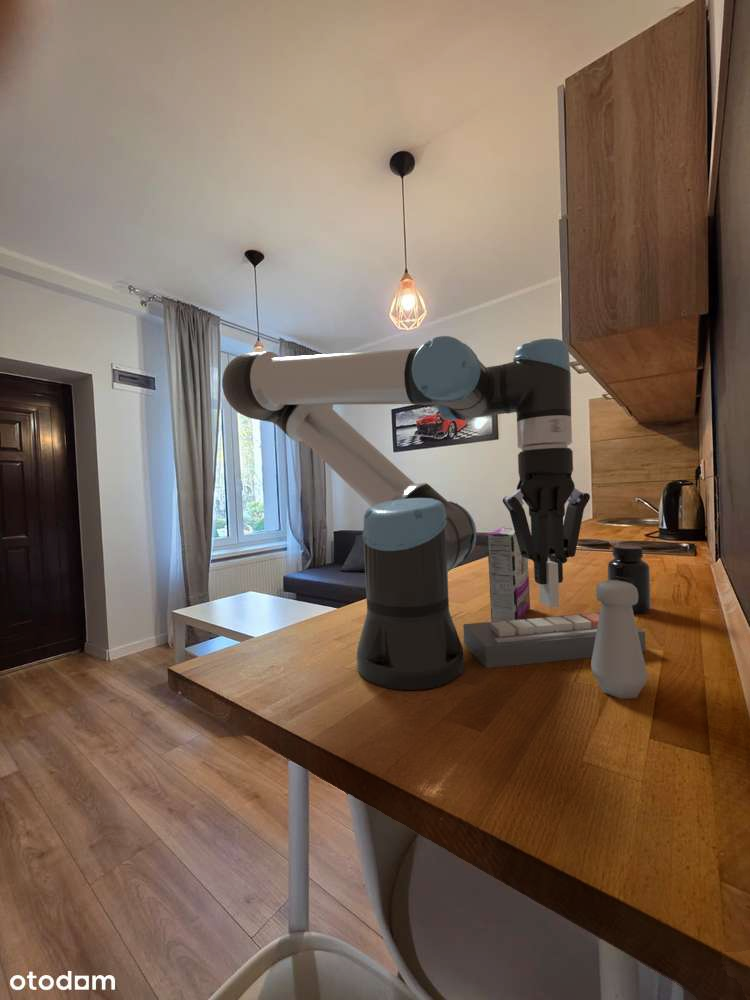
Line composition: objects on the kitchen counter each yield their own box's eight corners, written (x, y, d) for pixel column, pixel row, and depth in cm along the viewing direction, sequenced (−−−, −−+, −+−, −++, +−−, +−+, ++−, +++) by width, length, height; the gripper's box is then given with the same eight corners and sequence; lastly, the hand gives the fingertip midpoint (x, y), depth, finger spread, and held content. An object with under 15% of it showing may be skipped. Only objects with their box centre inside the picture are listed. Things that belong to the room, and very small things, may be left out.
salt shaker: (660, 702, 44) (658, 588, 43) (608, 704, 44) (606, 589, 44) (627, 677, 50) (625, 576, 49) (582, 678, 50) (579, 577, 49)
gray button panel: (486, 668, 54) (485, 639, 54) (464, 642, 63) (463, 618, 63) (645, 652, 57) (644, 624, 57) (602, 629, 66) (601, 606, 65)
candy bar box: (505, 605, 81) (502, 526, 80) (530, 608, 78) (528, 526, 77) (489, 622, 71) (486, 533, 71) (517, 626, 69) (514, 533, 68)
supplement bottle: (660, 612, 73) (658, 548, 72) (630, 616, 71) (628, 551, 71) (627, 601, 80) (626, 543, 79) (600, 605, 78) (598, 545, 78)
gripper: (515, 447, 54) (520, 615, 55) (601, 444, 56) (606, 608, 56) (492, 452, 62) (497, 600, 62) (569, 449, 63) (574, 594, 64)
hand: (549, 604), depth 59 cm, fingers closed
